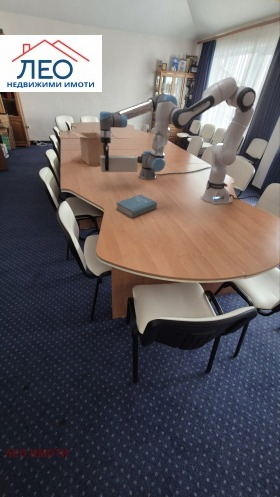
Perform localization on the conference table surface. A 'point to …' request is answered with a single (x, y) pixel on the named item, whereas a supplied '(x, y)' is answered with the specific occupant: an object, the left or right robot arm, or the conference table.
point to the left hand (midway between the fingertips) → (106, 169)
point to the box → (90, 146)
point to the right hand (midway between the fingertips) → (158, 154)
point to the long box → (120, 164)
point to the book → (136, 205)
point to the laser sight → (140, 159)
